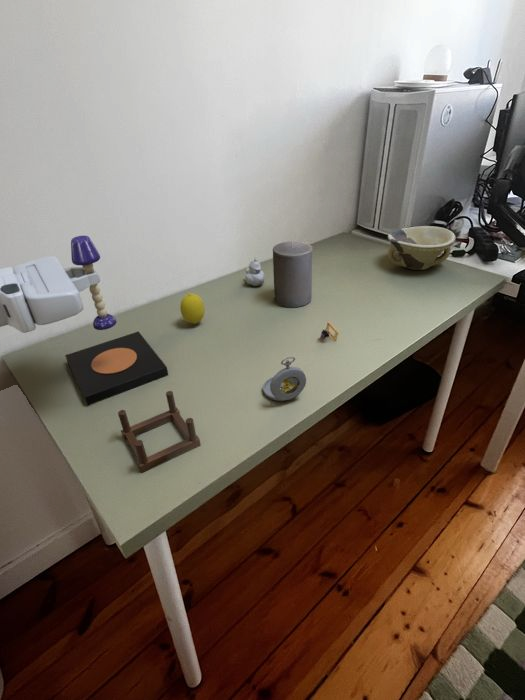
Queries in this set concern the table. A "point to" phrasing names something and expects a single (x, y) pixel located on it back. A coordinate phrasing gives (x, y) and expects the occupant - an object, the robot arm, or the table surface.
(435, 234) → the bowl
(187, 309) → the lemon
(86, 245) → the toy lamp
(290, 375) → the pocket watch
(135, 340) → the stove
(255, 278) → the rubber duck
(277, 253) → the pillar candle
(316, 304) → the table surface
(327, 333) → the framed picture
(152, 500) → the table surface
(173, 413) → the rack
